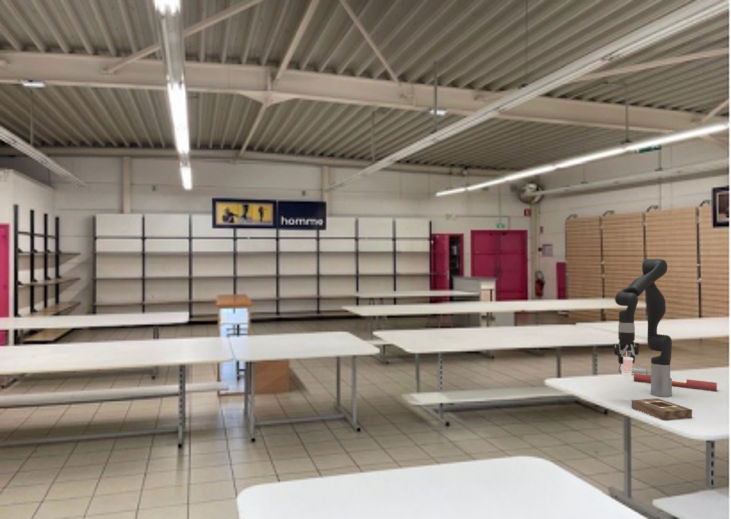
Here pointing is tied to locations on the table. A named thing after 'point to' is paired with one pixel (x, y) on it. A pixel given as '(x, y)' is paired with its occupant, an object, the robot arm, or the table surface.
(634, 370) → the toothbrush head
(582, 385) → the table surface
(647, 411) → the socket board
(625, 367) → the beverage cup
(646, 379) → the reddish-brown long rod
